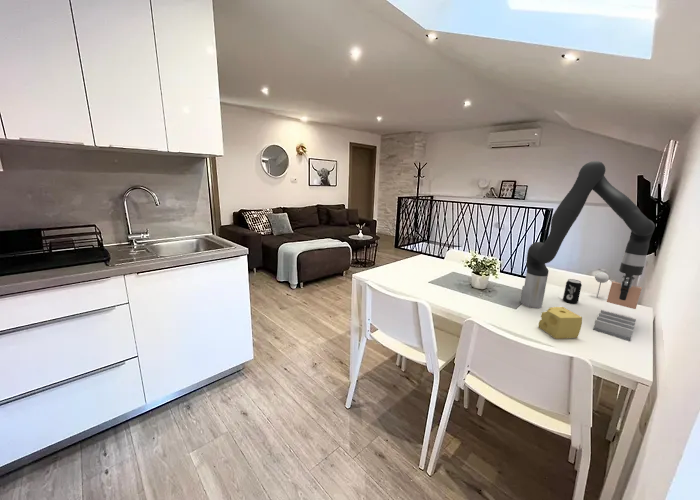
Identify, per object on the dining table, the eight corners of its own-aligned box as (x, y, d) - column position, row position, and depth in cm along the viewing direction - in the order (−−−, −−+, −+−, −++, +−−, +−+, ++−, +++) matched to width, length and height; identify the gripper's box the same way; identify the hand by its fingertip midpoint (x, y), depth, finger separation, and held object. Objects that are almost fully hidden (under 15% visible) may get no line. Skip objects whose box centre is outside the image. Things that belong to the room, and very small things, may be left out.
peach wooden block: (635, 309, 129) (641, 288, 127) (606, 301, 137) (611, 282, 134) (636, 307, 131) (642, 287, 129) (607, 300, 138) (612, 281, 136)
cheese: (537, 327, 129) (541, 306, 126) (559, 326, 130) (564, 306, 127) (555, 339, 119) (560, 318, 116) (579, 339, 119) (584, 317, 117)
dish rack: (630, 341, 118) (632, 331, 117) (592, 329, 127) (595, 320, 126) (633, 327, 129) (636, 318, 128) (599, 317, 138) (601, 309, 137)
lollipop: (600, 300, 157) (606, 274, 154) (588, 296, 162) (593, 271, 159) (606, 298, 160) (612, 273, 156) (593, 294, 165) (599, 270, 161)
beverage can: (580, 304, 152) (585, 283, 149) (566, 303, 153) (570, 282, 150) (573, 299, 158) (578, 279, 155) (560, 298, 160) (564, 278, 157)
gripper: (643, 268, 122) (632, 305, 126) (645, 262, 131) (635, 297, 135) (619, 263, 127) (609, 299, 131) (623, 258, 136) (614, 292, 140)
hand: (622, 298), depth 133 cm, fingers closed on peach wooden block, 2 cm apart
